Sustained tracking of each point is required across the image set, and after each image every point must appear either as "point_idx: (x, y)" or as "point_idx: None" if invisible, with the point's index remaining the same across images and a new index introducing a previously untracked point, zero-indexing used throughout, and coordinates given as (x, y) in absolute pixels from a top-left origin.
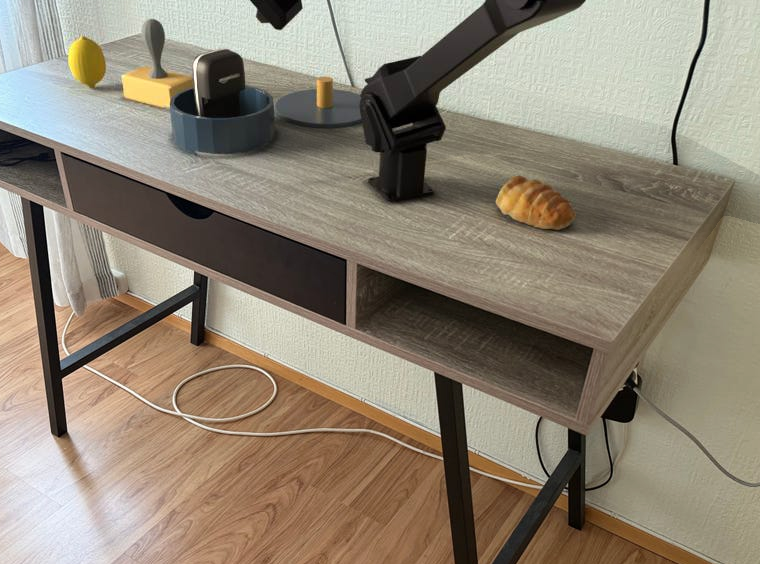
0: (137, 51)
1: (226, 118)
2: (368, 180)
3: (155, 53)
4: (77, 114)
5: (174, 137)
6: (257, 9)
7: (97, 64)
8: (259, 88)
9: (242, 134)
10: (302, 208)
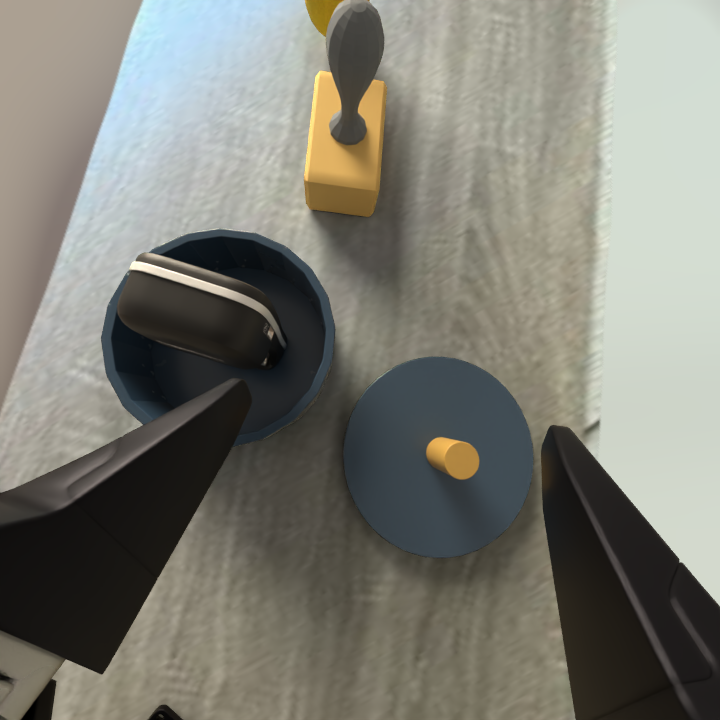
0: (525, 13)
1: (125, 398)
2: (154, 712)
3: (339, 91)
4: (220, 81)
5: None
6: (166, 413)
7: (328, 8)
8: (330, 364)
9: None
10: None
